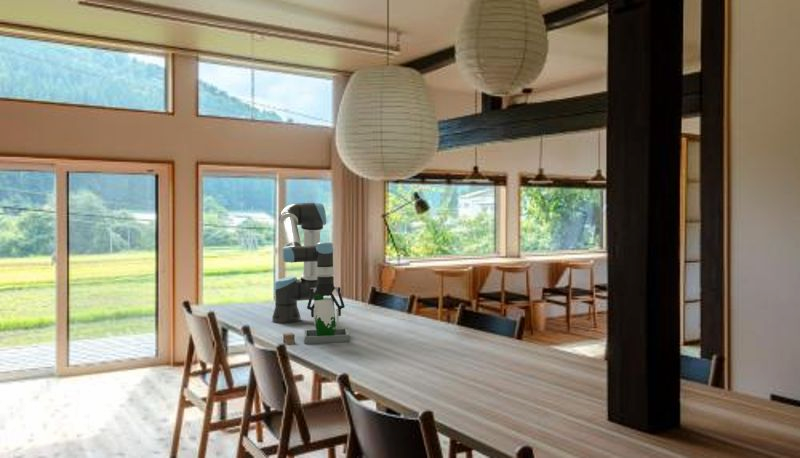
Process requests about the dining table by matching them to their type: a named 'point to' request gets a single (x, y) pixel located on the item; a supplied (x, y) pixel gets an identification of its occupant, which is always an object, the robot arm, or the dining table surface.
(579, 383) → the dining table surface
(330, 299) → the soya milk
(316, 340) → the tray
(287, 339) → the walnut block
